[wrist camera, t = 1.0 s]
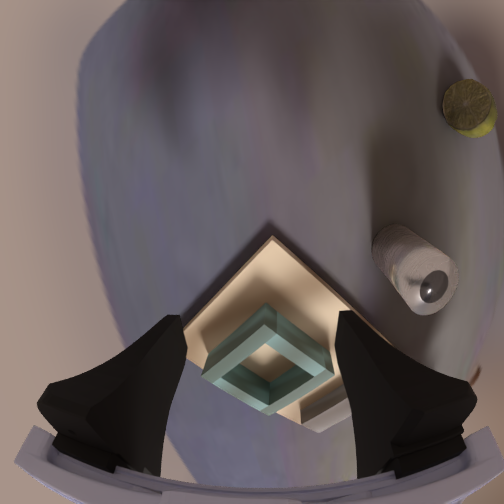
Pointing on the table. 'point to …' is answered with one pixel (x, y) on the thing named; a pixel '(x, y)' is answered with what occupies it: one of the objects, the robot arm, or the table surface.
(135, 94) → the table surface
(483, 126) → the lime
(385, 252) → the bushing
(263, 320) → the jig
